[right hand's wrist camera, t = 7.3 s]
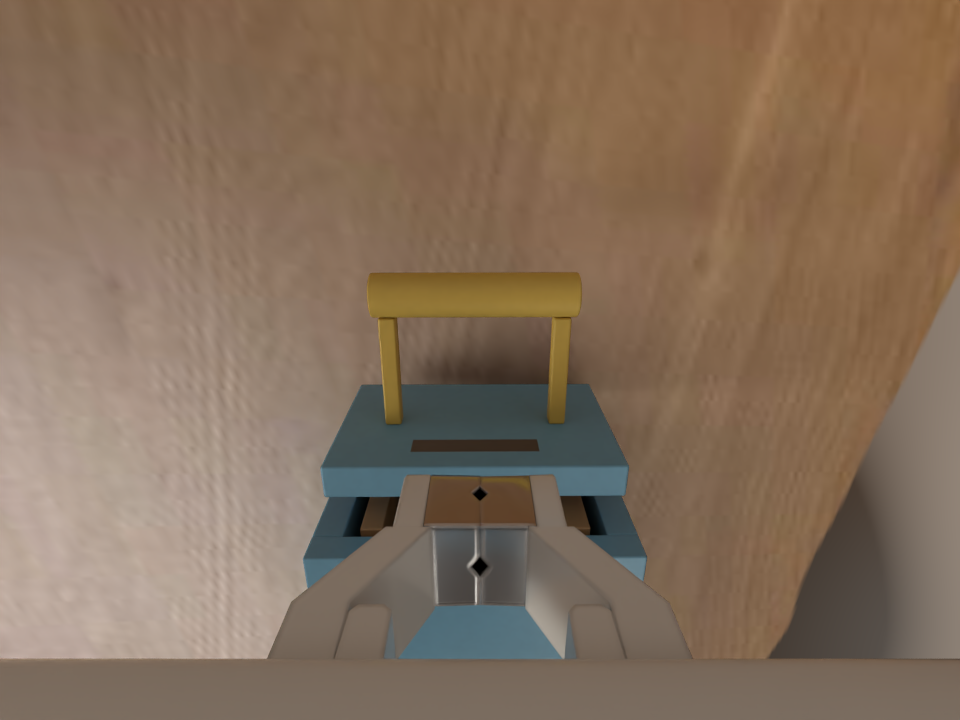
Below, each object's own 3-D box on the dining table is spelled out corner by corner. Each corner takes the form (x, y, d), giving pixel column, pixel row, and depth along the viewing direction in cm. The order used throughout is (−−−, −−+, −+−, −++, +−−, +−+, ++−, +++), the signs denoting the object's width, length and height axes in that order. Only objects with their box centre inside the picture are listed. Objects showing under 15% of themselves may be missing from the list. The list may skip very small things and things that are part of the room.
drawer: (348, 255, 21) (296, 296, 14) (600, 254, 21) (651, 296, 15) (389, 685, 30) (367, 820, 24) (563, 684, 30) (585, 817, 24)
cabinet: (357, 428, 25) (301, 558, 17) (592, 427, 25) (648, 556, 17) (386, 715, 32) (358, 899, 24) (566, 714, 32) (595, 896, 24)
